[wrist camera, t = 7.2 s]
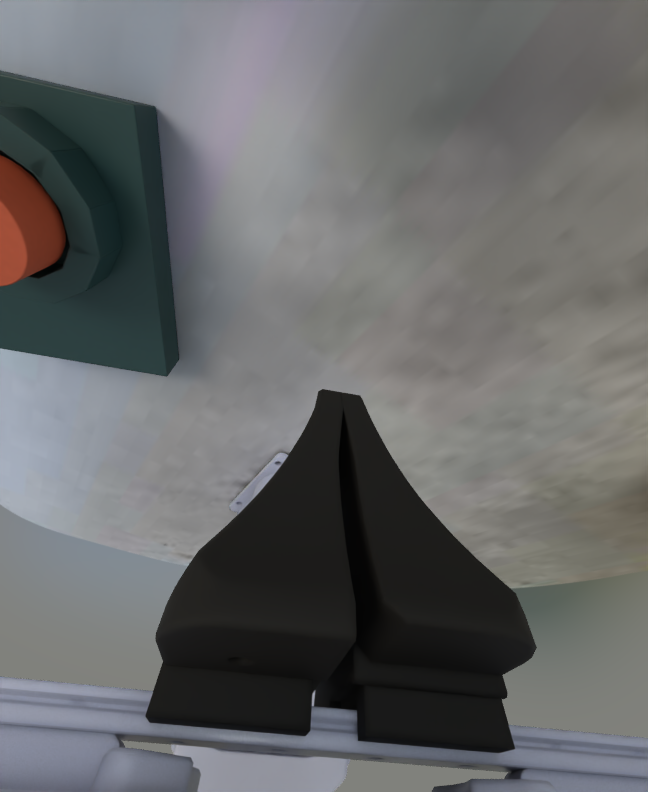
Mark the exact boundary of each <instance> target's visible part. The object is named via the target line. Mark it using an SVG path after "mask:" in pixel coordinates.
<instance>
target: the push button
mask: <svg viewBox="0 0 648 792" xmlns="http://www.w3.org/2000/svg"><path fill="white" fill-rule="evenodd" d="M65 243H66V234H65V228H64V224H63V221H62V218H61V215H60V213H59V211H58V209H57V207H56V205H55V203H54V202H53V200H52V199H51V197H50V196H49V194H48V193H47V192H46V190H45V189H44V188H43V187H42V186H41V184H40V183H39V182H38V181H37V180H36V179H35V178H34V177H33V176H32V175H31V174H29V173H28V172H27V171H26V170H24V169H23V168H22V167H21V166H19V165H18V164H16V163H15V162H13V161H11V160H10V159H8V158H6V157H4V156H2V155H0V286H7V285H11V284H13V283H15V282H18V281H20V280H22V279H24V278H26V277H28V276H30V275H32V274H34V273H36V272H38V271H40V270H42V269H44V268H46V267H48V266H50V265H52V264H54V263H55V262H57V261H58V260H59V258H60V257H61V256H62V254H63V252H64V248H65Z"/></svg>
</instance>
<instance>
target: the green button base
mask: <svg viewBox="0 0 648 792" xmlns="http://www.w3.org/2000/svg"><path fill="white" fill-rule="evenodd" d="M0 155H2V156H4V157H6V158H8V159H10V160H11V161H13V162H15V163H16V164H18V165H19V166H21V167H22V168H23V169H24V170H26V171H27V172H28V173H29V174H31V175H32V176H33V177H34V178H35V179H36V180H37V181H38V182H39V183H40V184H41V186H42V187H43V188H44V189H45V190H46V192H47V193H48V194H49V196H50V197H51V199H52V200H53V202H54V203H55V205H56V207H57V209H58V211H59V213H60V215H61V218H62V221H63V224H64V228H65V234H66V243H65V248H64V252H63V254H62V256H61V257H60V258H59V260H58V261H57V262H55V263H54V264H52V265H50V266H48V267H46V268H44V269H42V270H40V271H38V272H36V273H34V274H32V275H30V276H28V277H26V278H24V279H22V280H20V281H18V282H15V283H13V284H11V285H7V286H0V348H2V349H8V350H14V351H20V352H25V353H31V354H37V355H43V356H49V357H55V358H61V359H67V360H73V361H79V362H85V363H91V364H96V365H102V366H108V367H114V368H120V369H126V370H132V371H138V372H144V373H150V374H156V375H162V376H168V375H169V373H170V372H171V370H172V369H173V367H174V366H175V364H176V363H177V362H178V360H179V354H178V343H177V332H176V321H175V310H174V300H173V289H172V278H171V267H170V256H169V245H168V234H167V223H166V212H165V201H164V190H163V180H162V169H161V158H160V147H159V136H158V125H157V114H156V107H155V106H151V105H147V104H142V103H138V102H134V101H130V100H125V99H121V98H117V97H112V96H108V95H104V94H99V93H95V92H91V91H86V90H82V89H78V88H73V87H69V86H65V85H60V84H56V83H52V82H48V81H43V80H39V79H35V78H30V77H26V76H22V75H17V74H13V73H9V72H4V71H0Z"/></svg>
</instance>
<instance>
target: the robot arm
mask: <svg viewBox="0 0 648 792" xmlns="http://www.w3.org/2000/svg"><path fill="white" fill-rule="evenodd" d="M277 461H279V462H277ZM229 508H230V510H232V511H234V512H237V513H238V514H237V516H236V517H235V518H234V519H233V520H232V521H231V522H230V523H229V524H228V525H227V526H226V527H225V528H224V529H222V530H221V531H220V532H219V533H218V534H217V535H216V536H215V537H213V538H212V539H211V540H210V541H209V542H208V543H207V544H206V545H205V546H203V547H202V548H201V549H200V550H199V551H198V552H197V554H196V555H195V557H194V558H193V560H192V561H191V563H190V564H189V566H188V567H187V569H186V570H185V572H184V574H183V575H182V577H181V578H180V580H179V581H178V583H177V585H176V587H175V589H174V590H173V592H172V594H171V596H170V599H169V600H168V603H167V605H166V607H165V610H164V613H163V615H162V618H161V621H160V624H159V627H158V630H157V632H156V643H157V645H158V648H159V651H160V653H161V657H162V659H163V664H162V667H161V670H160V673H159V676H158V679H157V682H156V685H155V688H154V691H147V690H137V689H126V688H116V687H104V686H94V685H84V684H74V683H63V682H53V681H42V680H32V679H21V678H11V677H0V792H334V791H335V790H336V789H337V788H338V787H339V786H340V785H341V784H342V782H343V781H344V780H345V778H346V776H347V766H348V764H349V763H350V760H351V759H353V760H365V761H378V762H389V763H402V764H413V765H426V766H437V767H450V768H462V769H473V770H486V771H498V772H509V773H508V774H507V775H506V776H505V779H471V780H469V781H467V782H465V783H461V784H456V785H447V786H437V787H434V788H433V790H432V792H648V738H642V737H631V736H621V735H611V734H600V733H590V732H579V731H568V730H558V729H547V728H537V727H526V726H516V725H508V721H507V717H506V714H505V711H504V707H503V703H502V699H505V698H507V690H506V686H505V683H504V679H503V676H502V675H503V674H505V673H507V672H508V671H510V670H512V669H514V668H516V667H518V666H520V665H522V664H523V663H525V662H526V661H528V660H529V659H530V658H532V656H533V654H534V652H535V650H536V648H537V647H536V645H535V642H534V639H533V637H532V634H531V631H530V628H529V625H528V622H527V619H526V617H525V614H524V611H523V609H522V607H521V605H520V602H519V600H518V598H517V596H516V593H514V592H513V591H512V590H511V589H510V588H509V587H508V586H507V585H505V584H504V583H503V582H502V581H501V580H500V579H499V578H498V577H496V576H495V575H494V574H493V573H492V572H491V571H490V570H489V569H487V568H486V567H485V566H484V565H483V564H482V563H481V562H480V561H478V560H477V559H476V558H475V557H474V556H473V555H472V554H471V553H470V552H469V551H468V550H467V549H466V548H465V547H464V546H463V545H462V544H461V543H460V542H459V541H458V540H457V539H456V538H455V537H454V536H453V535H452V534H451V533H450V532H449V530H448V529H447V528H446V527H445V526H444V525H443V524H442V523H441V522H440V520H439V519H438V518H437V517H436V516H435V515H434V514H433V513H432V511H431V510H430V509H429V508H428V507H427V506H426V505H425V503H424V502H423V501H422V500H421V498H420V497H419V496H418V495H417V493H416V492H415V490H414V489H413V488H412V486H411V485H410V484H409V482H408V481H407V480H406V478H405V477H404V475H403V474H402V472H401V471H400V469H399V468H398V466H397V465H396V463H395V461H394V460H393V458H392V457H391V455H390V453H389V452H388V450H387V448H386V446H385V445H384V443H383V441H382V439H381V437H380V435H379V434H378V432H377V430H376V428H375V426H374V424H373V422H372V420H371V418H370V416H369V414H368V411H367V409H366V407H365V405H364V402H363V400H362V398H361V397H360V396H359V395H353V394H348V393H342V392H336V391H330V390H324V389H322V390H320V391H319V392H318V396H317V401H316V405H315V408H314V411H313V413H312V416H311V418H310V420H309V422H308V424H307V425H306V427H305V429H304V431H303V433H302V435H301V436H300V438H299V440H298V441H297V443H296V444H295V446H294V448H293V449H292V451H291V452H290V454H289V455H287V454H285V453H278V454H277V455H276V456H275V457H274V458H273V459H272V460H271V461H270V462H269V463H268V464H267V465H266V466H265V467H264V468H263V469H262V470H261V471H260V473H259V474H258V475H257V476H256V477H255V478H254V479H253V480H252V481H251V482H250V483H249V484H248V485H247V486H246V487H245V488H244V489H243V490H242V491H241V493H240V494H239V495H238V496H237V497H236V498H235V499H234V500H233V501H232V502H231V503H230V506H229ZM121 740H123V741H136V742H148V743H160V744H172V745H171V748H172V751H173V753H174V755H173V754H167V753H161V752H154V751H148V750H142V749H134V748H125V746H124V744H123V742H122V741H121Z"/></svg>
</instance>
